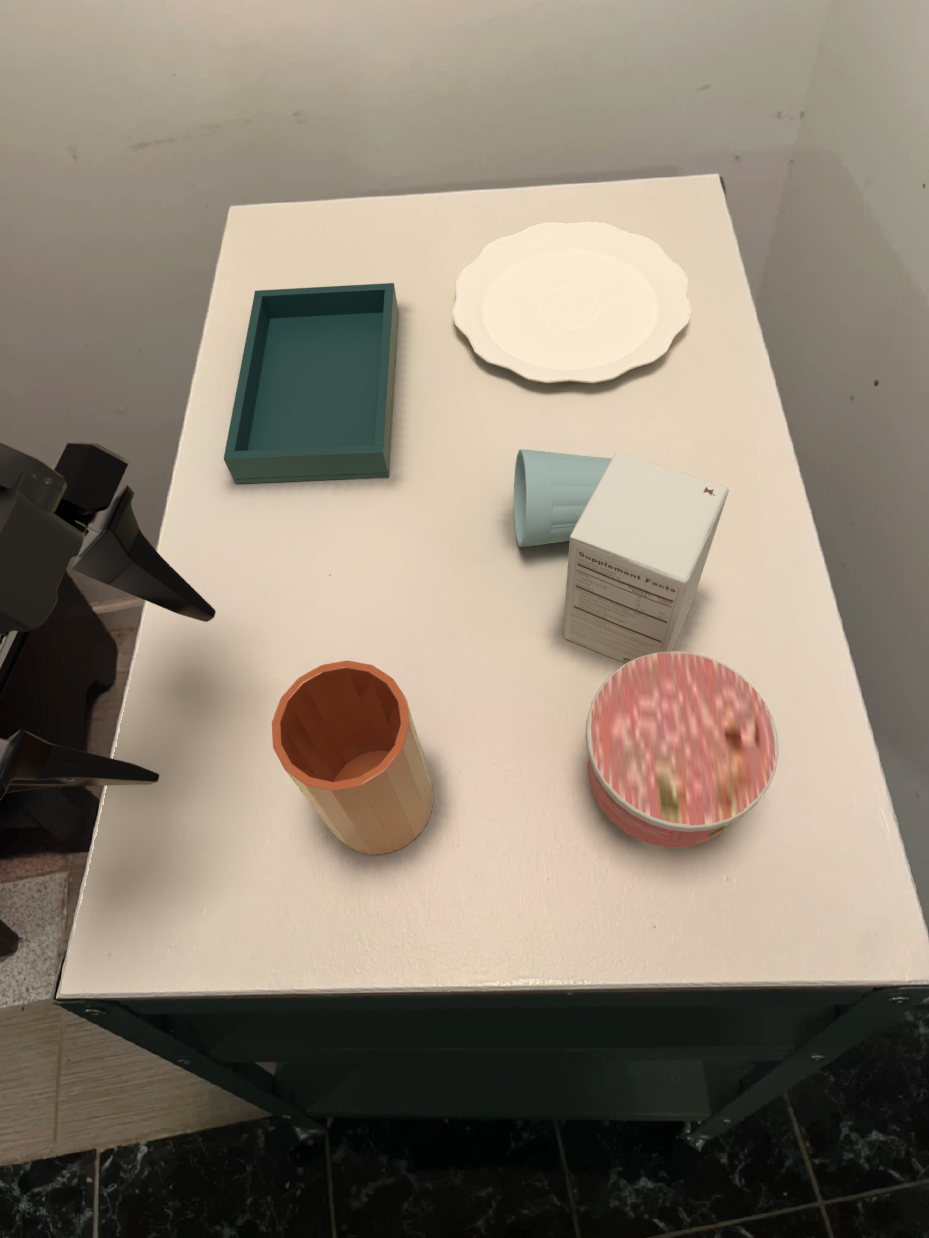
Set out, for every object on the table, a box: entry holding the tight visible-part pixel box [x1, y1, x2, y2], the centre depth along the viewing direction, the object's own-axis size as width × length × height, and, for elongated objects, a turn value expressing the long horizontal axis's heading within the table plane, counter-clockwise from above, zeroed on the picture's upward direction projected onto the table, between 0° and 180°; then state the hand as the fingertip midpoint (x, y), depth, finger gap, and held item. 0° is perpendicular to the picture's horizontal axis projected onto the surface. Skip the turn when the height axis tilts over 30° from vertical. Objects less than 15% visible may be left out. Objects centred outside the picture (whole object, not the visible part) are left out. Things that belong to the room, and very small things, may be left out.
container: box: [585, 650, 780, 849], centre depth 49 cm, size 10×10×8 cm
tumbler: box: [271, 660, 434, 855], centre depth 48 cm, size 7×7×13 cm
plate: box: [451, 220, 692, 384], centre depth 74 cm, size 21×21×2 cm
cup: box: [513, 448, 612, 548], centre depth 61 cm, size 7×7×10 cm
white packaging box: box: [562, 451, 730, 664], centre depth 53 cm, size 7×7×13 cm
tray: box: [223, 282, 399, 485], centre depth 70 cm, size 20×13×3 cm, turn 0°
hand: (185, 694), depth 43 cm, fingers open, 9 cm apart
